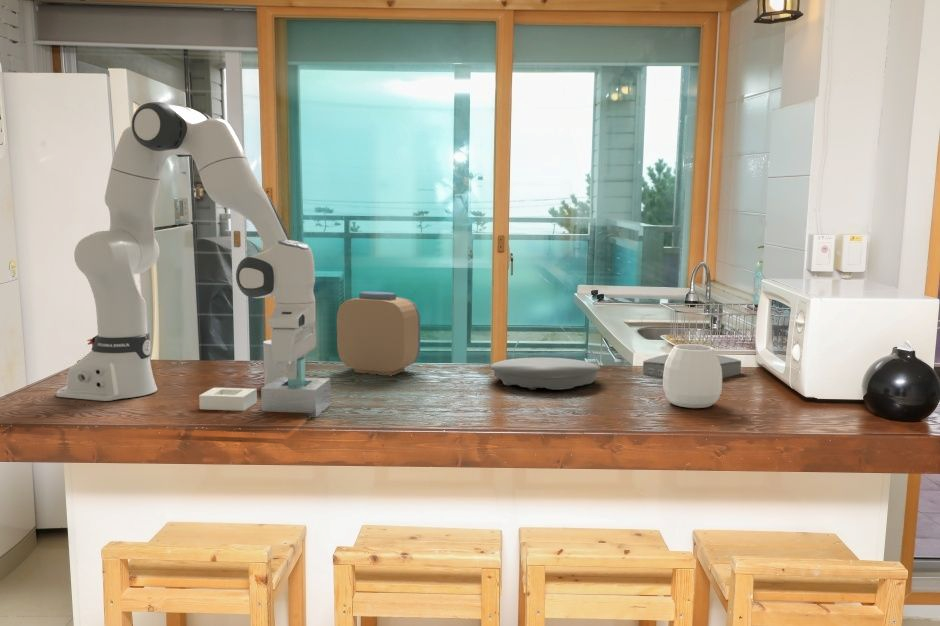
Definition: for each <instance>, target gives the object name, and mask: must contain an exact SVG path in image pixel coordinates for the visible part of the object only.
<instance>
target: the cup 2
mask: <svg viewBox="0 0 940 626" xmlns="http://www.w3.org/2000/svg"><path fill="white" fill-rule="evenodd" d="M717 355H718V354H717V353H716V351H715V349H714V347H712V346H709V345H704V344H697V343H696V344H693V343H691V344H690V343H688V344H687V343H685V344H682V343H681V344H677V345H674V346H673V347H672V349H671V350H670V352H669V355H668V358H667V360H666V363H665V366H664V373H663V378H662V388H663V389H662V390H663V393H664V394H665V398H666V399H667V400H668V401H669V402H670V403H671V404H672V405H675V406H678V407H683V408H688V409H700V408H701V409H703V408H704V409H705V408H709V407H711V406H712V405H714V404H715V403H716V402H718V400H719V398H720V396H721V394H722V391H723V389H722V388H723V378H722V368H721V365H720V362H719V359H718V357H717Z"/></svg>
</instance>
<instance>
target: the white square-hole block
mask: <svg viewBox="0 0 940 626" xmlns="http://www.w3.org/2000/svg"><path fill="white" fill-rule="evenodd" d="M257 396H258V392H257V388H245V387H243V388H241V387H212V388H210V389H208V390H207V391H205V392H203V393H201V394H199V395H198V398H199V399H198V400H199V410H209V411H210V410H212V411H213V410H218V411H242V412H243V411H246V410H247V409H249V408H250V407H252V406H253V405H254V404H256V403H257V402H258V397H257Z"/></svg>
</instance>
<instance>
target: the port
mask: <svg viewBox="0 0 940 626" xmlns="http://www.w3.org/2000/svg"><path fill="white" fill-rule="evenodd" d="M331 380H332V379H331V378H329V377H328V378H327V377H326V378H325V377H305V381H306V386H288V377H279V378H277V379H275V380H274V381H272V382H271V383H269V384H267V385H266V386H265V385H264V386H263V387H261V388H260V390H261V391H260V393H261V394H260V395H261V398H260V399H261V412H269V413H270V412H271V413H272V412H273V413H274V412H276V413H305V414H308V415H306V418H317V417H318V416H319V415H320V414H321V413H323V412H324V411H325V410H326V409H327V408H329V406H330V405H332V388H331V385H332V384H331V383H332V382H331ZM322 411H323V412H322Z"/></svg>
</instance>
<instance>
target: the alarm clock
mask: <svg viewBox="0 0 940 626" xmlns="http://www.w3.org/2000/svg"><path fill="white" fill-rule="evenodd" d="M336 334H337V335H336V342H337V344H336V345H337V346H336V347H337V353H338V356H339V359H340V360H341V362H342V363H343V364H344V365H345V366H347V367H349V368H352V369H353V373H356V372H357V374H366V373H369V374H368V375H376V374H378V375H377V376H379V375H380V376H386V375H387V376H388V375H389V376H388V377H393V376H395V375H398V374H400V373H399V372H401V373H403V372H405V370H406V369H405V368H407V367H409V366H411V365H413V364H414V363H416V361H417V360H418V358H419V356H420V352H421V315H420V310H419V307H417V304H416V303H415V302H414V301H413V300H411V299H408V298H405V297H400V296H397V294H396V292H389V291H361V292H359V294H358V297H357V298H352V299H346V300H345V301H343V302H342V303H341V304H340V306H339V307H338V309H337V315H336ZM402 371H403V372H402ZM397 373H398V374H397ZM392 375H393V376H392Z"/></svg>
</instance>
